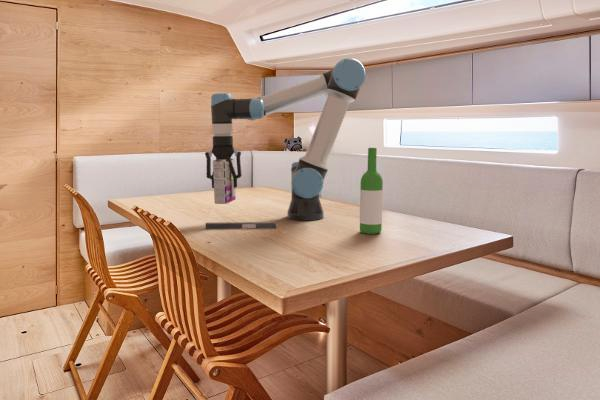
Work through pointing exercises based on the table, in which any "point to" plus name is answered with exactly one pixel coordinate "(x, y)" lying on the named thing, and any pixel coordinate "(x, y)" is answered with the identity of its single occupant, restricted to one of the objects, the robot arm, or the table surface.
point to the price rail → (240, 225)
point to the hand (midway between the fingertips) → (225, 196)
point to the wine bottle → (371, 197)
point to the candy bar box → (222, 181)
